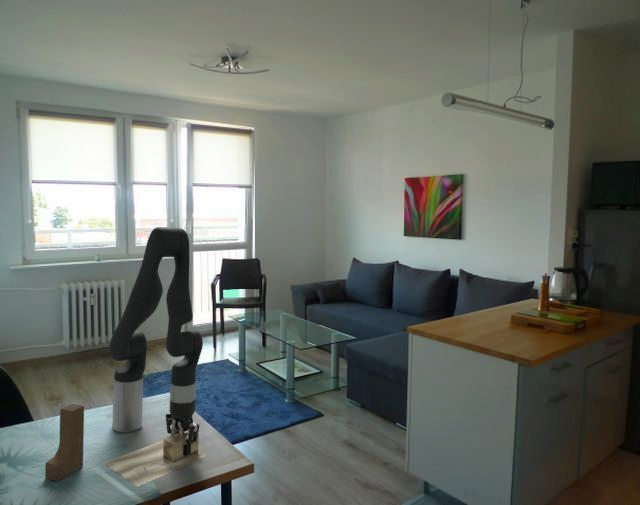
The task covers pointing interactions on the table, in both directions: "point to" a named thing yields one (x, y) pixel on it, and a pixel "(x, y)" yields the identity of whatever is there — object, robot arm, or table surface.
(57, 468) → the wooden block
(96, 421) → the table surface
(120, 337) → the robot arm
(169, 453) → the block
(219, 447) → the table surface
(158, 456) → the board
